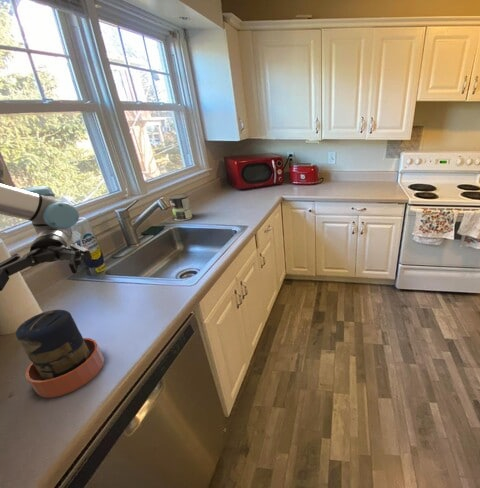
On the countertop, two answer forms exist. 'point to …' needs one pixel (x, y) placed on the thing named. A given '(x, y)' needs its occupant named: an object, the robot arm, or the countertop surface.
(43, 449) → the countertop surface
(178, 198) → the coffee can
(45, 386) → the ring
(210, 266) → the countertop surface
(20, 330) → the canister
